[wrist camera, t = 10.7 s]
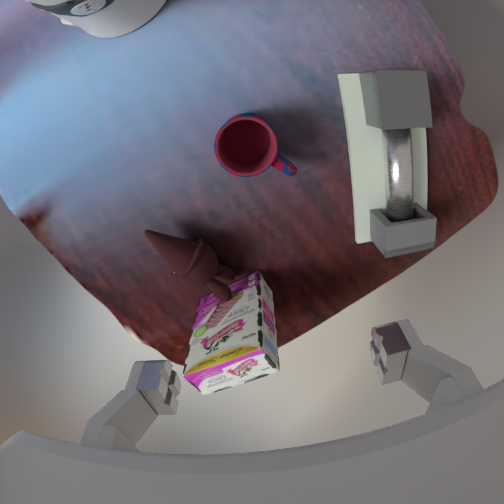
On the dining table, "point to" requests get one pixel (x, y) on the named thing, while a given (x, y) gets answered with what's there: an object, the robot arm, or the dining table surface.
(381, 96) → the dark grey cube cap
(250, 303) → the candy bar box
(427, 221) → the socket
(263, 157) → the mug
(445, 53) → the dining table surface
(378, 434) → the robot arm
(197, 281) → the icecream
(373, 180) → the board
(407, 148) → the tube
